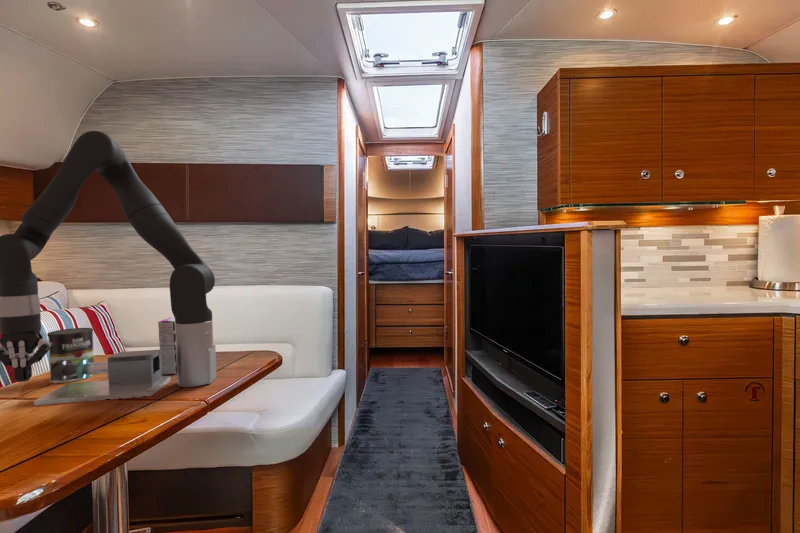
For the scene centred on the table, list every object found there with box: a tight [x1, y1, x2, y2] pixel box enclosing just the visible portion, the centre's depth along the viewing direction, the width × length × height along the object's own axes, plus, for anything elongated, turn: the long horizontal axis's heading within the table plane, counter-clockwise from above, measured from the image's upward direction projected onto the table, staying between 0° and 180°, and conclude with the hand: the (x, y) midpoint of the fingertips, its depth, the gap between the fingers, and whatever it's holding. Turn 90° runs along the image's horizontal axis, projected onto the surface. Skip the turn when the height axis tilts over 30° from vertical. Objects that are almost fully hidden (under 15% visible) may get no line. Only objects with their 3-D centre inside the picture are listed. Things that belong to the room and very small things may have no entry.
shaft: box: [51, 359, 108, 381], centre depth 102 cm, size 18×5×5 cm, turn 101°
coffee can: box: [46, 327, 95, 384], centre depth 115 cm, size 10×10×14 cm
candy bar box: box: [157, 315, 177, 376], centre depth 121 cm, size 11×5×16 cm, turn 6°
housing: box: [33, 349, 171, 406], centre depth 102 cm, size 26×13×10 cm, turn 101°
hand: (23, 380), depth 98 cm, fingers closed
